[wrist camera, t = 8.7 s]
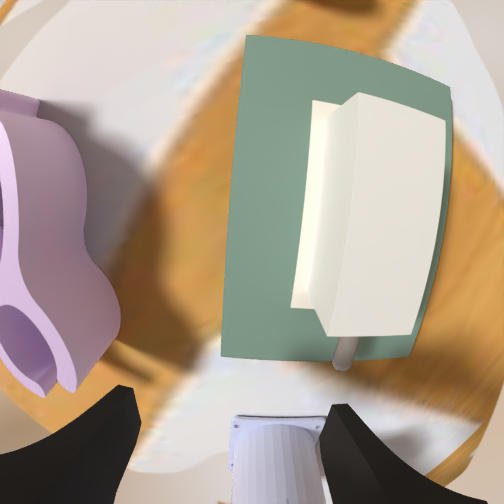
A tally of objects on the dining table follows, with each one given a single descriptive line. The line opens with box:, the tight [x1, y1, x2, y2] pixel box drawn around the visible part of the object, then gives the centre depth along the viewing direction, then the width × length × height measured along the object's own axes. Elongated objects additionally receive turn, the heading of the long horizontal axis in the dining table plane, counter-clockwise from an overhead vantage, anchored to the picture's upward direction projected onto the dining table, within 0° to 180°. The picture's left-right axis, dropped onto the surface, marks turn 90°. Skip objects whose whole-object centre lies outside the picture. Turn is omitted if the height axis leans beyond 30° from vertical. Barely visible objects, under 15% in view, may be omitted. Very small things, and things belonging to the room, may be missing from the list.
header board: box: [221, 35, 452, 361], centre depth 14 cm, size 20×14×4 cm
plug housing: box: [307, 92, 446, 371], centre depth 13 cm, size 14×4×5 cm, turn 175°
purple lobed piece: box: [0, 89, 121, 398], centre depth 13 cm, size 20×12×7 cm, turn 24°
